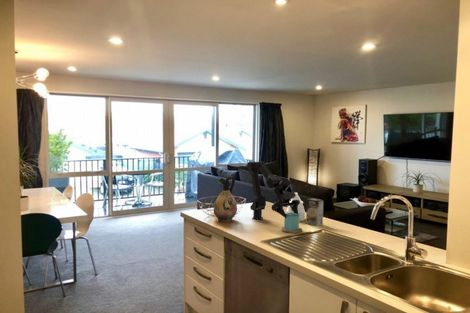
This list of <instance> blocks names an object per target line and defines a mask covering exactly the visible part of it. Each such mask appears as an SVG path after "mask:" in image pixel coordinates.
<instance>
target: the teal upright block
mask: <svg viewBox="0 0 470 313" xmlns="http://www.w3.org/2000/svg"><path fill="white" fill-rule="evenodd" d="M285 214H286V216H287V218H285V217H284V222H283V224H284V226H283V227H284V228H285V229H287V230H290V231H292V230H298V229H299V228H300V226H299V225H300V221H299V214H296V213H286V212H285Z"/></svg>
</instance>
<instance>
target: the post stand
mask: <svg viewBox="0 0 470 313" xmlns="http://www.w3.org/2000/svg"><path fill="white" fill-rule="evenodd" d="M281 231H282V232H283V233H285V234H299V233H302V231H303V230H302V228H301V227H299V229H298V230H292V231H290V230H287V229H285V228H284V226H283V227H281Z"/></svg>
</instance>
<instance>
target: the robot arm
mask: <svg viewBox="0 0 470 313" xmlns="http://www.w3.org/2000/svg"><path fill="white" fill-rule="evenodd" d="M246 170H247V173H249V174H250V178H251V182H252V183H251V185H252V188H253V189H252V190H253V199H252V203H251V205H250V206H249V207H250V211H252V212H253V214H252V215H253V217H251V219H252V220H263V218H264V217H263V216H262V215H263V214H262V212H263V210H265V208H266V205H267V201H266V196H265V195H264V196H263V195H262V189H261V183H260V178H259V172H260V173H261V174H262V176H264V179H265V180H266V185H267V186H268V188H269V189H272V190H271V195H273V194H274V196H275V198H276V201H275V202H273V204H272V205H271V210H272V211H273V212H274V213H277V214H279V215H281V216H282V218H283V217H284V219H285V218H287V216H286V214H285V213H286V211H285V210H284V207H285V208H286V207H288V206H290V208H291V210H292V211H293V212H294V213H296V214H298V205H299V204H300V201H299V200H293V201H292V202H291V203H289V202H290V201H291V199H292V198H294V197H295V196H296V195H295V193H296V192H294V191H291V192H288V193H285V192H286V191H287V190H288V188H289V187H290V185H291V184H292V183H291V181H290V179H287V178H286V176H284V177H281V178H280V179H279V177H277V176H275V175H273V174H272V172H271V171H270V169H269V168H268V167H267V166H266V164H265V162H264V161H248V162H247V164H246Z"/></svg>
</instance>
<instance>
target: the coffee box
mask: <svg viewBox="0 0 470 313" xmlns="http://www.w3.org/2000/svg"><path fill="white" fill-rule="evenodd" d="M323 220H324V200H323V199H319V198H315V197H310V198H306V211H305V223H306V224H307V225H310V226H311V225H312V226H316V227H319V226H322V225H323V224H324V223H323V222H324V221H323Z"/></svg>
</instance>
